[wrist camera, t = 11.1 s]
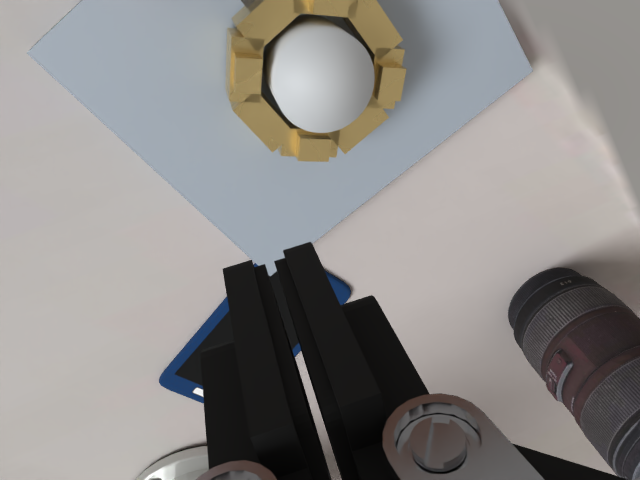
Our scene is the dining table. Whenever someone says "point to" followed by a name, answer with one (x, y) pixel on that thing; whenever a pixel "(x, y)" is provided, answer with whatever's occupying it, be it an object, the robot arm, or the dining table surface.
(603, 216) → the dining table surface
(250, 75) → the segmented octagonal ring
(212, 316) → the cell phone
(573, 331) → the camera lens
